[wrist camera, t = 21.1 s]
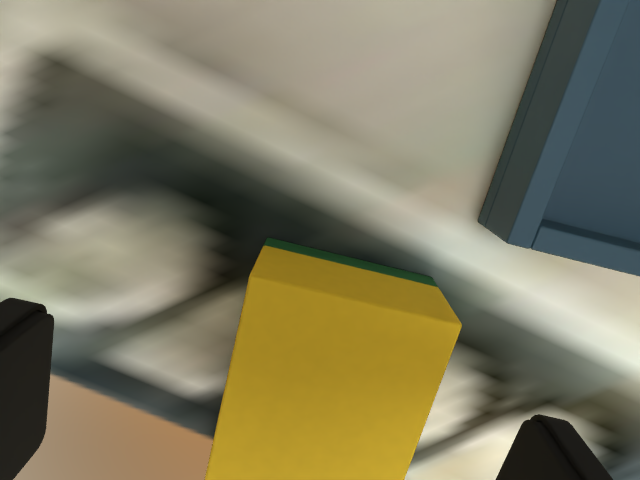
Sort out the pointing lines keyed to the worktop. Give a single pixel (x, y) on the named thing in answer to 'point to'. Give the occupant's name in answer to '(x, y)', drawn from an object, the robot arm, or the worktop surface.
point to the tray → (576, 142)
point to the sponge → (330, 369)
